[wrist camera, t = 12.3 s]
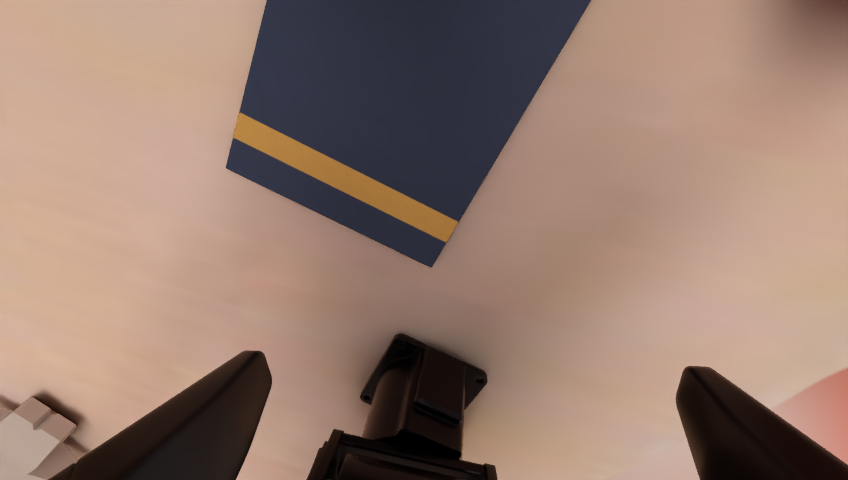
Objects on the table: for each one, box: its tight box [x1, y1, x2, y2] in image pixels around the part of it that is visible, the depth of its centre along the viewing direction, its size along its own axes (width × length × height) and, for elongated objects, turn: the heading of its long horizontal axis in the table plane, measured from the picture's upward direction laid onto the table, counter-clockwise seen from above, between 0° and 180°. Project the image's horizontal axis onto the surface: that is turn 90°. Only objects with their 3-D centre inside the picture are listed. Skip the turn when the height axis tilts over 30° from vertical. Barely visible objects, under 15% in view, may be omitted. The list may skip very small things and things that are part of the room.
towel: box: [226, 0, 591, 267], centre depth 17 cm, size 22×12×1 cm, turn 154°
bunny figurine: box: [0, 397, 78, 480], centre depth 34 cm, size 10×5×15 cm
